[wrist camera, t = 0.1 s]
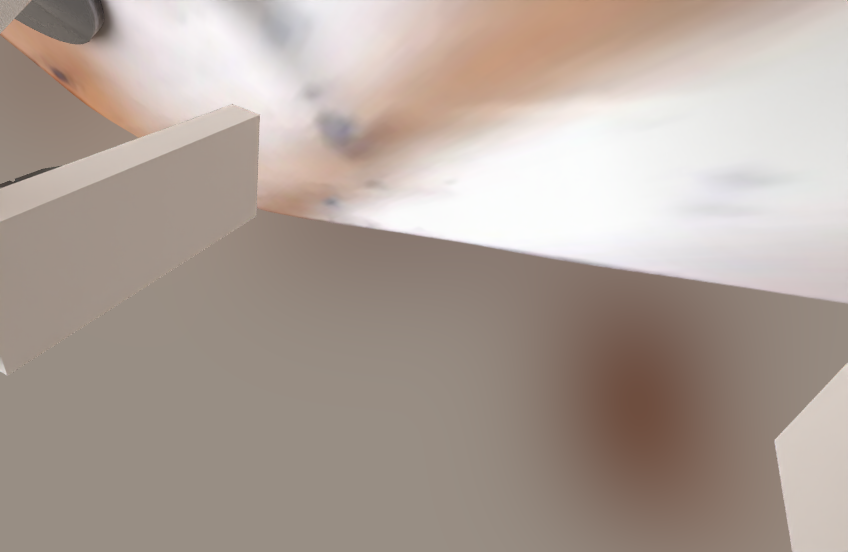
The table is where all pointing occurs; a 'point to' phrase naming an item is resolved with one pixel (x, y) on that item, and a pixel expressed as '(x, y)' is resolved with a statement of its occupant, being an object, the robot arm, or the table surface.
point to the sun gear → (10, 11)
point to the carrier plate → (64, 19)
